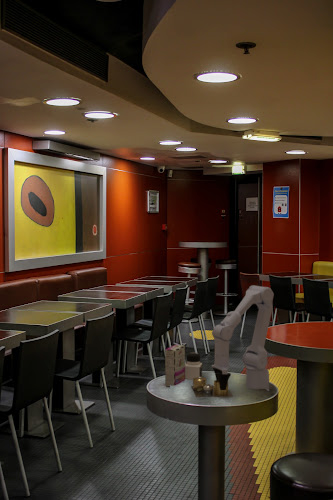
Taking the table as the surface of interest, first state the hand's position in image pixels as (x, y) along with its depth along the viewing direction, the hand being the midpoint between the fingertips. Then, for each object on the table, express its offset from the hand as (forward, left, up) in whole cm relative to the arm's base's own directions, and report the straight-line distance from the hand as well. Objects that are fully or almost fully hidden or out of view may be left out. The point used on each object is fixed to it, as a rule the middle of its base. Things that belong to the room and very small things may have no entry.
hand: (221, 387), depth 241 cm
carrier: (+4, -3, -3) cm, 6 cm away
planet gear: (0, 0, -2) cm, 2 cm away
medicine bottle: (+8, -25, -4) cm, 27 cm away
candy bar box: (+17, -18, -4) cm, 25 cm away
